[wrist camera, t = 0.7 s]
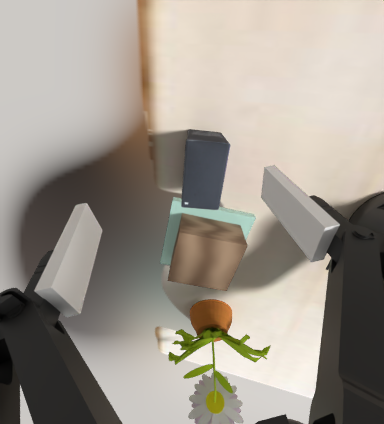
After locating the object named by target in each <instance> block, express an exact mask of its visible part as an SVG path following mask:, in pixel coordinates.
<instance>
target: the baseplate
mask: <svg viewBox="0 0 384 424" xmlns="http://www.w3.org/2000/svg"><path fill="white" fill-rule="evenodd" d="M181 201H182V199H180V198H175V197H173V201H172V206H171V210H170V216H169V221H168V226H167V230H166V235H165V240H164V245H163V250H162V256H161V260H160V264H166V265H170V264H171V258H172V254H173V249H174V245H175V241H176V237H177V233H178V228H179V224H180V220H181V216H182V213H185V214H189V215H194V216H199V217H204V218H209V219H213V220H218V221H223V222H228V223H233V224H237V225H241V228H242V231H243V234H244V237H245V240H246V238H247V236H248V234H249V232H250V230H251V227H252V225H253V223H254V221H255V219H256V217H255V215H254V214H250V213H245V212H241V211H236V210H231V209H227V208H222V207H219V210H208V209H196V208H183V207H181Z"/></svg>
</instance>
